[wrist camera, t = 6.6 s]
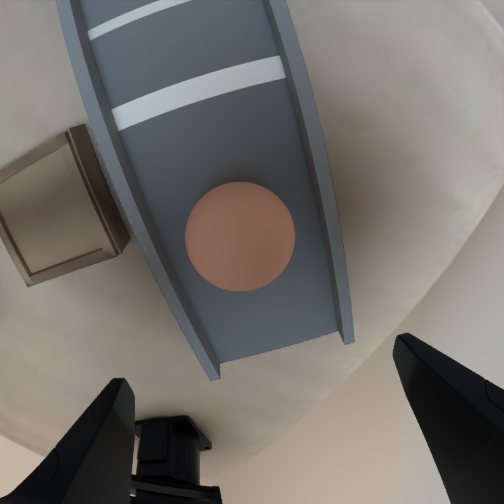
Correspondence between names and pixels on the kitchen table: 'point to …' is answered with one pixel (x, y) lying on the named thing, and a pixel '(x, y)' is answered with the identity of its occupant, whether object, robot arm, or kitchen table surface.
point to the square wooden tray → (58, 209)
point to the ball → (240, 236)
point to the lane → (213, 156)
